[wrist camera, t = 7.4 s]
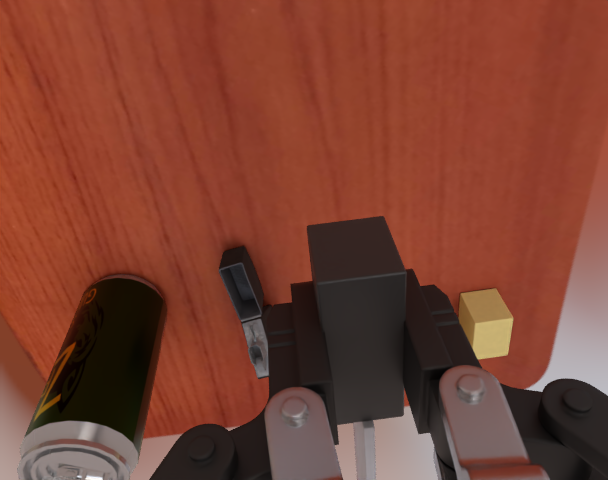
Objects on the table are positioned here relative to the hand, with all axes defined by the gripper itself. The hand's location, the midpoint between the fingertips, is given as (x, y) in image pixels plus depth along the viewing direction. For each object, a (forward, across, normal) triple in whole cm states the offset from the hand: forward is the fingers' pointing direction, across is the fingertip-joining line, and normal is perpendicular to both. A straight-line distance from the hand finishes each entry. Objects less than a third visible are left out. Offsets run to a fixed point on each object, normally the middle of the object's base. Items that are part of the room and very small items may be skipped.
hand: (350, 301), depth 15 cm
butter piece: (+16, -11, +16) cm, 25 cm away
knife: (0, 0, +4) cm, 4 cm away
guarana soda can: (+16, +13, +12) cm, 24 cm away
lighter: (+16, +5, +12) cm, 21 cm away
